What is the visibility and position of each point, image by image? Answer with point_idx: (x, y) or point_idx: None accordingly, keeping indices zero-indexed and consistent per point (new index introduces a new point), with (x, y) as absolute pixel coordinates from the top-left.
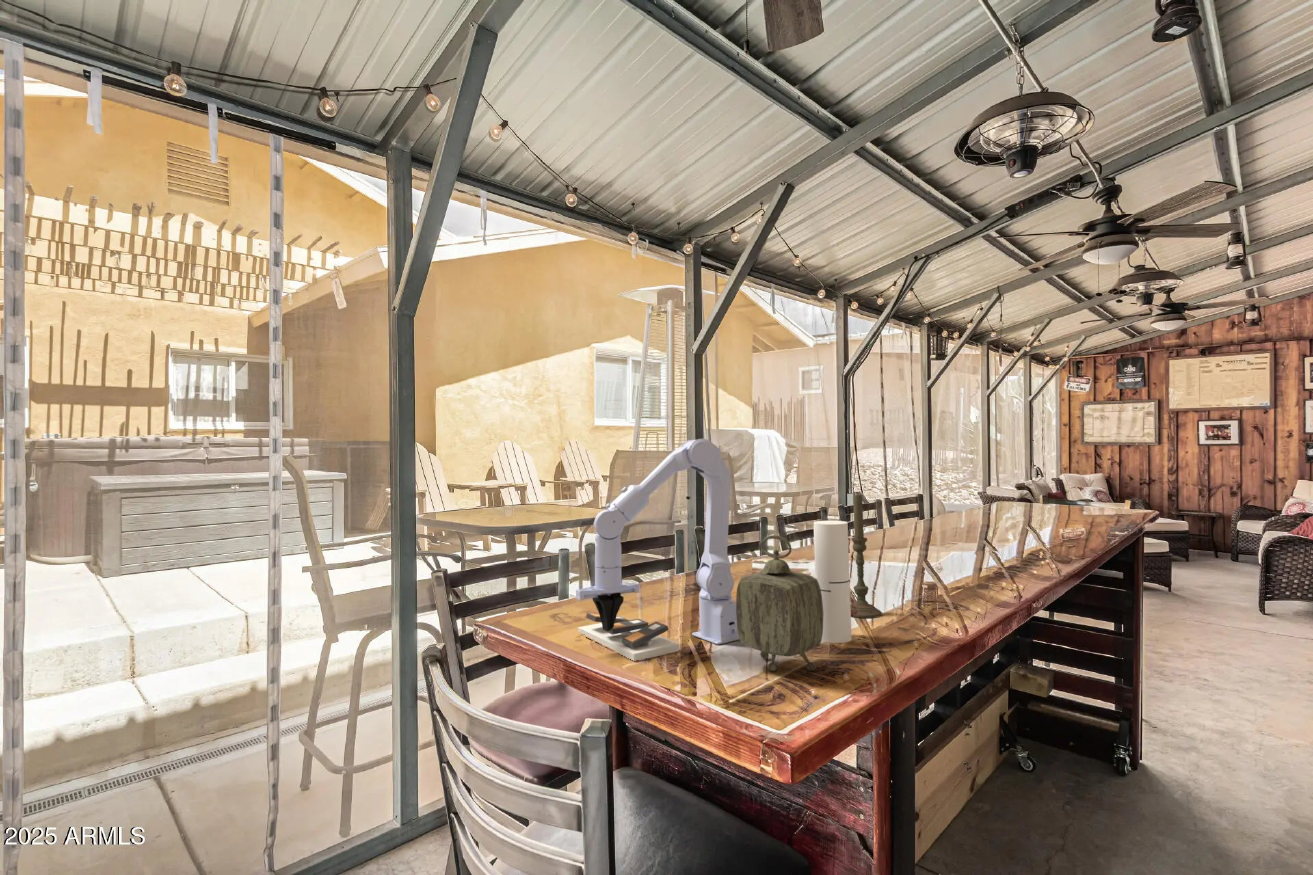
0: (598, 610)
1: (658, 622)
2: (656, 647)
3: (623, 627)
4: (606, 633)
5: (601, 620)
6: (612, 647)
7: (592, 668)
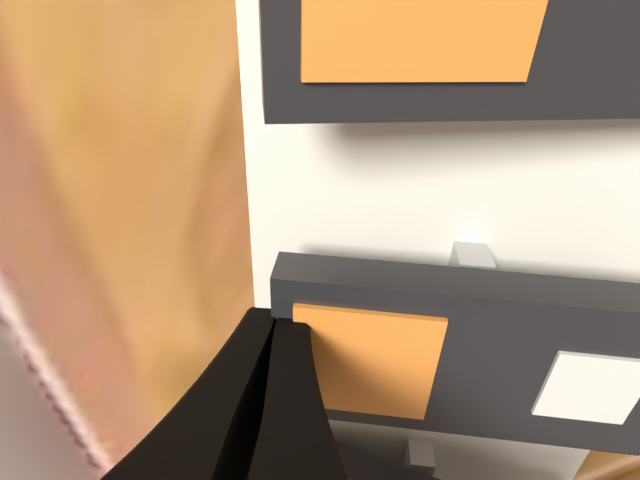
0: (133, 464)
1: None
2: None
3: (383, 422)
4: (366, 162)
5: (215, 362)
6: None
7: (91, 437)
